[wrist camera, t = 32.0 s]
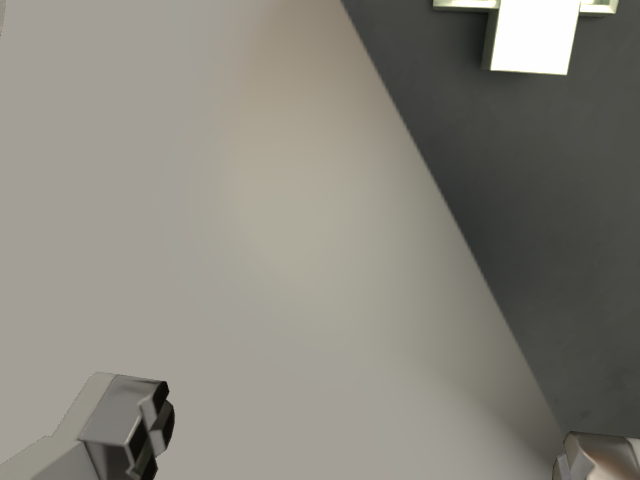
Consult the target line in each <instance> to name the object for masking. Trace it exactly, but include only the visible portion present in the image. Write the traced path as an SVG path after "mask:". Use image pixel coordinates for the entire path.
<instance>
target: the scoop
mask: <svg viewBox="0 0 640 480" xmlns="http://www.w3.org/2000/svg"><path fill="white" fill-rule="evenodd" d="M617 5H618V0H433V7H434V9H435V10H439V11H463V12H487V13H489V14H488V21H487V27H486V34H485V41H484V48H483V55H482V61H481V68H482V69H486V70H490V71H502V72H518V73H533V74H549V75H567V73H568V68H569V63H570V57H571V52H572V47H573V42H574V37H575V32H576V27H577V22H578V17H579V16H581V17H606V16H609V15H612V14H615V13H616V9H617Z"/></svg>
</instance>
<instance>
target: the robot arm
mask: <svg viewBox="0 0 640 480" xmlns="http://www.w3.org/2000/svg"><path fill="white" fill-rule="evenodd" d="M168 394H169V389H168V385H167V382H166V381H159V380H153V379H146V378H139V377H132V376H125V375H120V374H112V373H104V372H96V373H94V374H93V375H92V376H91V377H90V378H89V379H88V380H87V382H86V383H85V385H84V387H83V388H82V390H81V391H80V393H79V394H78V396H77V397H76V399H75V401H74V402H73V404H72V405H71V407H70V408H69V410H68V411H67V413H66V415H65V416H64V418H63V420H62V421H61V422H60V424H59V426H58V427H57V429H56V430H55V432H54V433H53V435H52V436H44V437H42V438H41V439H39V440H38V441H36V442H35V443H33V444H31V445H30V446H29V447H27V448H25V449H24V450H22V451H21V452H19V453H18V454H16V455H15V456H14V457H12V458H10V459H9V460H7V461H5V462H4V463H2V464H1V465H0V480H153V479H154V477H155V475H156V472H157V470H158V467H157V463H156V460H155V458H156V457H157V456H159V455H160V454H161V453H163V452H164V451H165V450H166V449H167V447H168V444H169V442H170V439H171V437H172V432H173V428H174V423H175V422H174V421H175V420H174V419H175V415H174V414H175V413H174V409H173V405H171V403H170V402H168V401H167V400H166V398H167V396H168ZM563 444H564V448H565V452H563V453H561V454H559V455H557V457H556V460H555V463H554V466H553V474H552V480H640V439H631V438H624V437H620V436H611V435H602V434H593V433H584V432H575V431H570V432H569V433H567V434H566V437H565V439H564V441H563Z"/></svg>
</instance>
